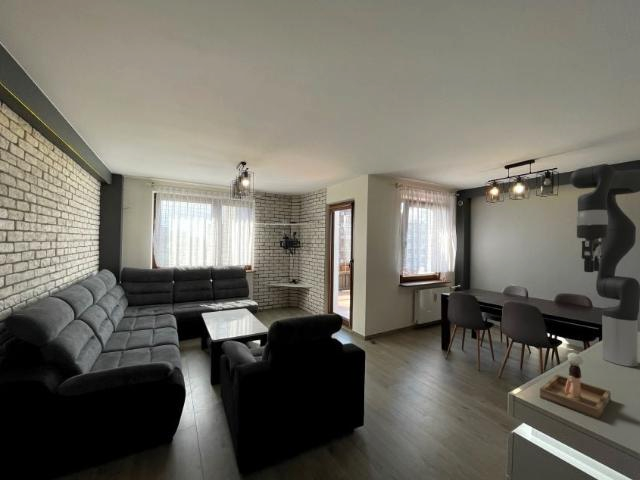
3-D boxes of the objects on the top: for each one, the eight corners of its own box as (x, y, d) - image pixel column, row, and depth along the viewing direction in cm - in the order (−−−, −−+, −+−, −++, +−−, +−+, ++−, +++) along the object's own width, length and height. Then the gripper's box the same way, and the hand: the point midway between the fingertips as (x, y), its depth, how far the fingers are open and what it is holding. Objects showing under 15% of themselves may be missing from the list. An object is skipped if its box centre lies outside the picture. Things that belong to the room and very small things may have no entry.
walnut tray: (556, 382, 87) (556, 374, 87) (610, 400, 77) (610, 391, 77) (539, 397, 78) (539, 388, 78) (598, 419, 68) (598, 410, 68)
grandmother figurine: (566, 390, 81) (566, 348, 81) (583, 395, 78) (583, 352, 79) (563, 399, 76) (564, 355, 76) (582, 405, 73) (582, 359, 73)
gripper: (582, 225, 99) (582, 269, 98) (571, 223, 90) (571, 271, 90) (611, 224, 92) (612, 271, 92) (603, 222, 84) (603, 273, 84)
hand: (591, 271), depth 91 cm, fingers open, 8 cm apart
